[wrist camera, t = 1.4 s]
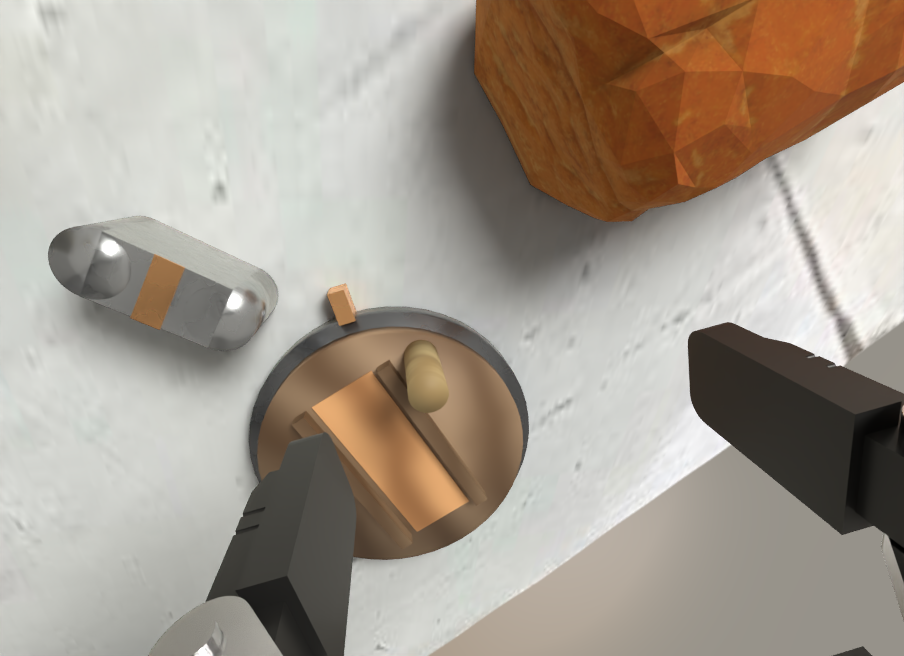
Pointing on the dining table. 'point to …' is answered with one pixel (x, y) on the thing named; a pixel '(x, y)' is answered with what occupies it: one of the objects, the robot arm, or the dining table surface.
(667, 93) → the bread
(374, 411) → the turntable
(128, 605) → the dining table surface
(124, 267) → the banded metal capsule
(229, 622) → the robot arm
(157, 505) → the dining table surface
